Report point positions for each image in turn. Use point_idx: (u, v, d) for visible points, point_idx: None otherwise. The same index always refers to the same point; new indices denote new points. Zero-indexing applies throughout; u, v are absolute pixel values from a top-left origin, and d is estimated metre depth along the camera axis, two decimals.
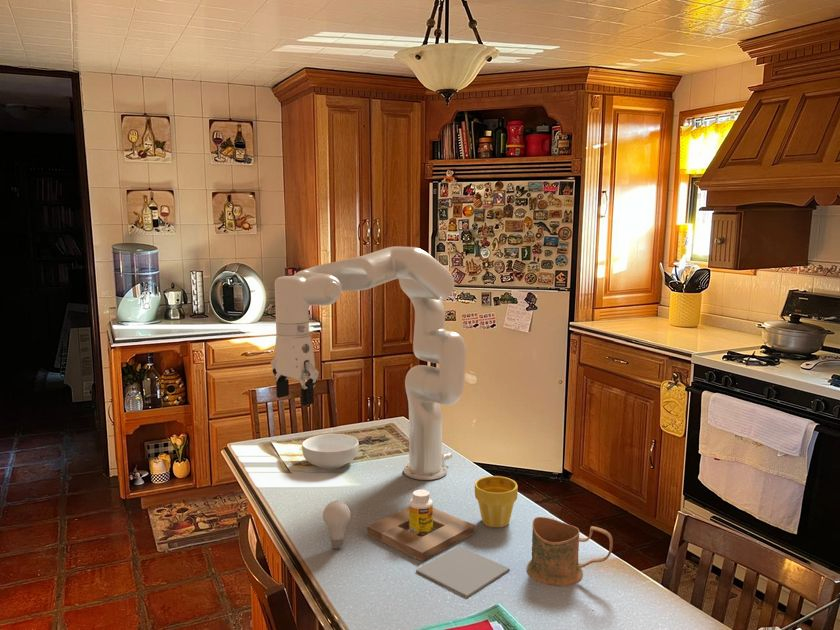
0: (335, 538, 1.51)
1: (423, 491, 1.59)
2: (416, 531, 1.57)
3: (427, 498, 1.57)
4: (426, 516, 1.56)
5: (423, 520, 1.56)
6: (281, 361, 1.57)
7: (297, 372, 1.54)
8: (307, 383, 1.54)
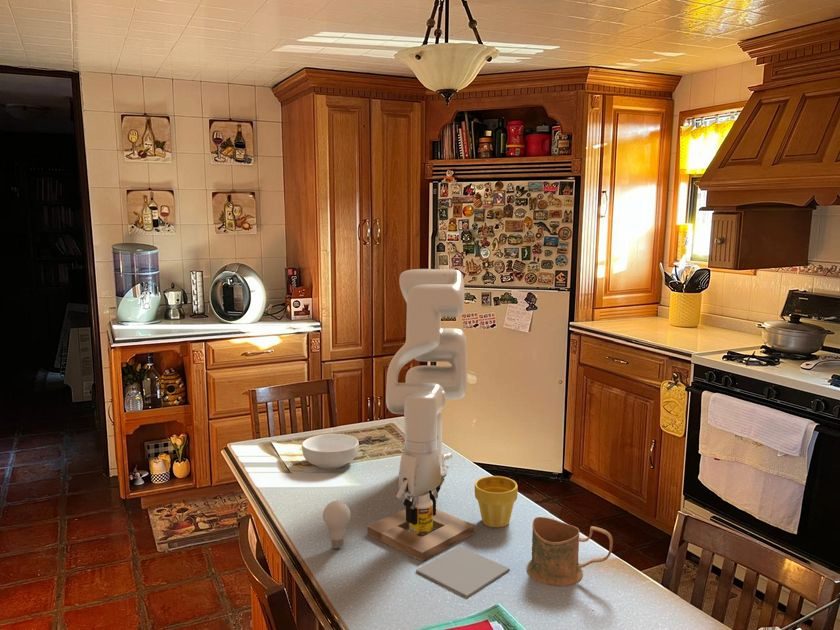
0: (335, 538, 1.51)
1: None
2: (416, 531, 1.57)
3: (427, 498, 1.57)
4: (426, 516, 1.56)
5: (423, 520, 1.56)
6: (423, 480, 1.55)
7: (439, 479, 1.59)
8: (436, 491, 1.61)
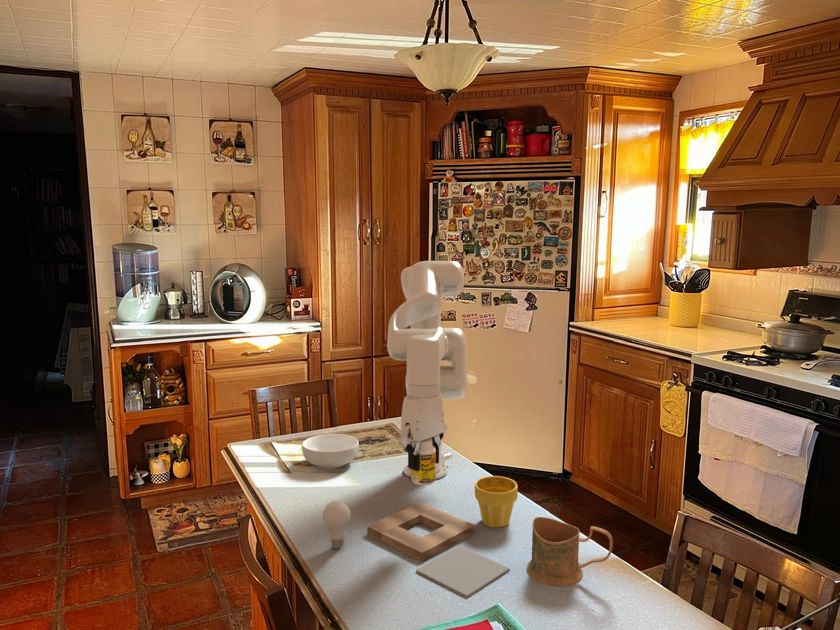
0: (335, 538, 1.51)
1: None
2: (418, 478, 1.53)
3: (430, 444, 1.53)
4: (429, 463, 1.53)
5: (426, 467, 1.53)
6: (426, 425, 1.51)
7: (442, 426, 1.56)
8: (439, 439, 1.57)
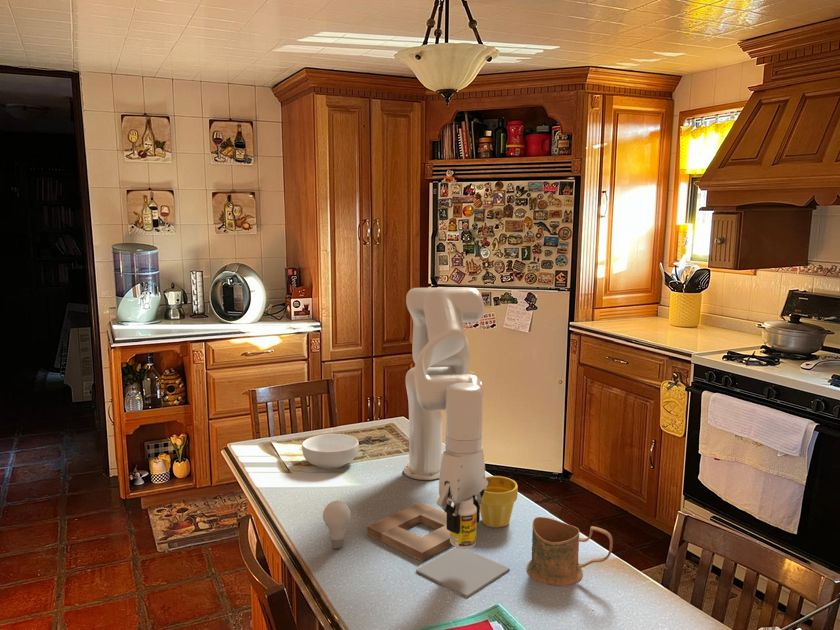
0: (335, 538, 1.51)
1: None
2: (458, 541, 1.39)
3: (471, 503, 1.39)
4: (470, 524, 1.39)
5: (466, 528, 1.38)
6: (467, 483, 1.37)
7: (483, 483, 1.42)
8: None
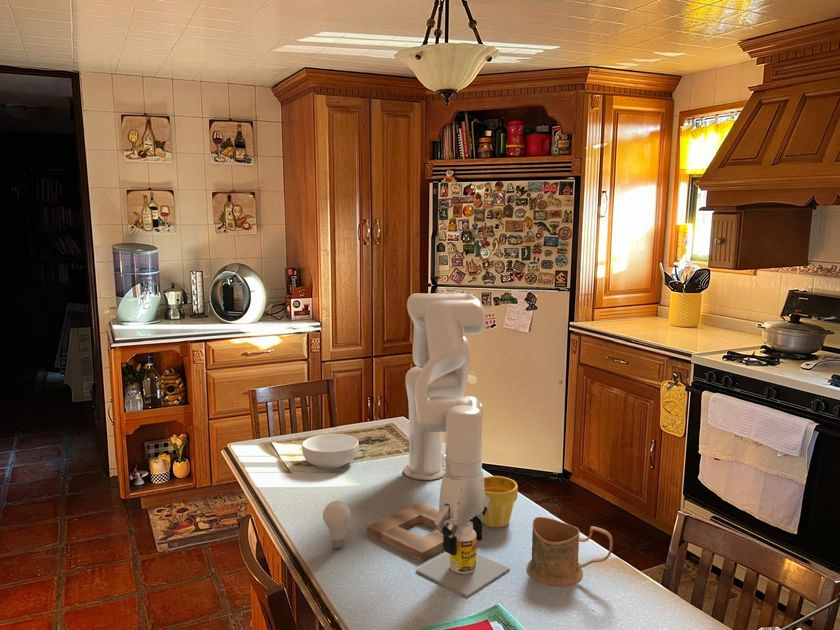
0: (335, 538, 1.51)
1: None
2: (458, 566, 1.40)
3: (470, 529, 1.40)
4: (470, 550, 1.40)
5: (466, 554, 1.40)
6: (467, 506, 1.38)
7: (483, 504, 1.42)
8: (482, 514, 1.45)
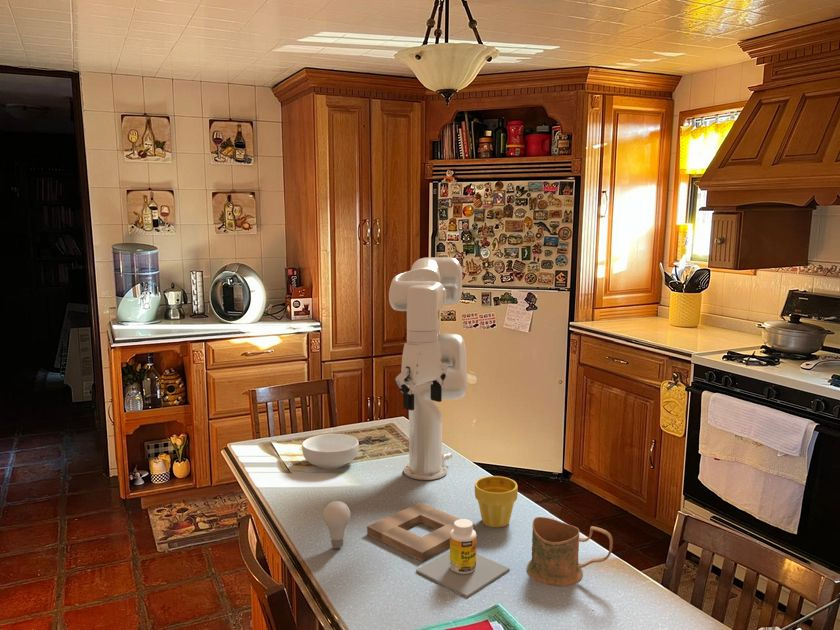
0: (335, 538, 1.51)
1: (466, 520, 1.43)
2: (458, 567, 1.40)
3: (470, 529, 1.40)
4: (470, 550, 1.40)
5: (466, 554, 1.40)
6: (425, 369, 1.61)
7: (440, 372, 1.66)
8: (442, 379, 1.69)
